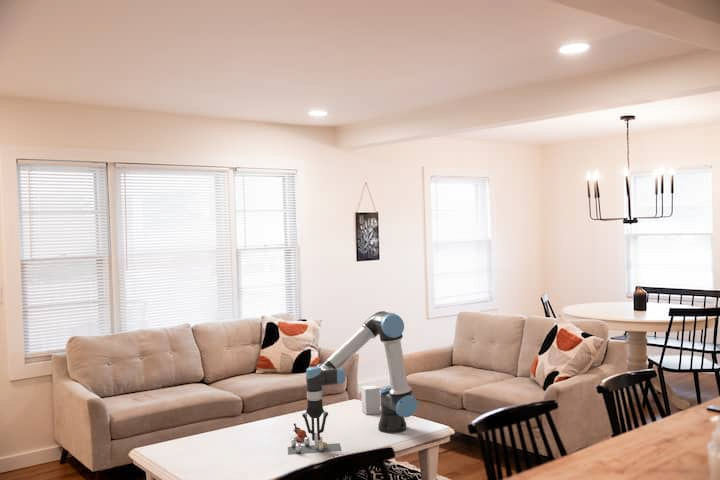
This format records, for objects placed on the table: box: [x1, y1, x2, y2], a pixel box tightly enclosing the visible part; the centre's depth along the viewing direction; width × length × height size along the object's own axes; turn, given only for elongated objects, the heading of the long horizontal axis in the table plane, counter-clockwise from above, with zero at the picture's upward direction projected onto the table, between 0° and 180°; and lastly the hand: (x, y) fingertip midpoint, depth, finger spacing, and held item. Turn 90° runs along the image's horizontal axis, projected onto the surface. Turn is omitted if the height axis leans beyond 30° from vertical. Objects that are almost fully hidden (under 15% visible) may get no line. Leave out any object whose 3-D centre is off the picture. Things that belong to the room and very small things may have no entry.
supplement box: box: [360, 384, 381, 416], centre depth 390 cm, size 9×9×15 cm
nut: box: [318, 441, 328, 450], centre depth 326 cm, size 5×4×2 cm
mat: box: [287, 443, 343, 456], centre depth 325 cm, size 26×12×1 cm, turn 96°
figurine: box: [293, 422, 308, 442], centre depth 343 cm, size 10×8×15 cm
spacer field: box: [290, 436, 324, 455], centre depth 325 cm, size 15×11×4 cm
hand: (316, 446), depth 326 cm, fingers closed
